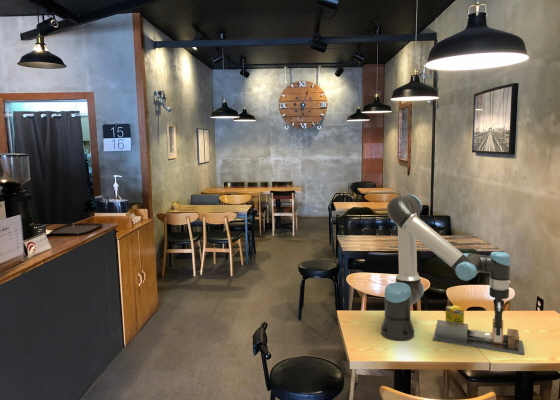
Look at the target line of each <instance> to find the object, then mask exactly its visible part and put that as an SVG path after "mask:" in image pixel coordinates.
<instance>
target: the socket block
mask: <svg viewBox="0 0 560 400" xmlns="http://www.w3.org/2000/svg"><path fill="white" fill-rule="evenodd" d="M506 333H507V334H506V335H508V348H512V349H519V340H520V335H519V329H516V328H515V329H513V328H507V330H506Z"/></svg>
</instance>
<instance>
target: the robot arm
mask: <svg viewBox="0 0 560 400" xmlns="http://www.w3.org/2000/svg"><path fill="white" fill-rule="evenodd" d="M422 211H423V203H422V201H421V200H420V199H419V198H418V197H417V196H416V195H414V194H401V195H400V196H395V197H393V198H392V199H390V200H389V201H388V202H387V206H386V212H387V215H388V217H389V218H390V220H391V221H392V222H393V223H394V224H395V225H396V226H397V243H398V244H397V245H398V246H397V248H398V249H397V250H398V253H397V254H398V274H397V275H396V276H395V282H391V283H389V284H387V285H386V286H385V288H384V293H383V294H384V319H383V321H382V324H381V327H380V334H381V335H382V336H383V337H384V338H386V339H389V340H392V341H398V342H400V341H401V342H402V341H405V342H406V341H410V340H412V339H413V338H414V337H415V329H414V325H413V323H412V320H411V307H412V306H413V305H415V304H416V303H417V302H419V301H420V300H421V298H422V297H423V295H424V292H425V291H424V290H425V289H424V285H423V283H422V282H421V276H420V275H419V274H418V261H417V260H418V259H417V257H418V255H417V247H418V246H417V240H418V241H419V242H420V243H422V244H423V245H424V246H425V247H426V248H428V249H429V250H430V251H431V252H433V253H434V254H435V255H436V256H437V257H438V258H440V259H441V260H442V261H443V262H444V263H446V264H447V265H448V266H449V267H451V268H452V269H453V270H454V271H455V272H454V273H455V275H456V276H457V278H458V279H460V280H462V281H466V282H467V281H470V280H472V279H473V278H476V276H477V274H479V273H485V274H489V291H488V292H489V293H488V295H489V297H492V298H494V299H493V310H494V318H493V319H495V326H493V325H492V328H493V327H494V328H495V330H494V342H500V343H501V334H502V320H503V313H504V307H505V301H504V300H506V299H508V298H509V297H510V284H511V283H512V281H510V278H511V277H510V274H511V272H510V271H511V255H510V254H509V253H508V252H504V251H491V253H490V255H484V254H483V255H482V254H477V253H471V252H469V253H468V252H467V253H466V252H465V253H463V252H461V251H460V250H459V249H458V248H457V247H455V246H454V245H453V244H452V243H450V242H449V241H448V240H447V239H445V237H443V236H441V235H440V234H439V233H438V232H437V231H435V230H434V229H433V228H432V227H431V226H430V225H428V224H427V223H425V221H423V220H422V219H420V214H421V213H422Z"/></svg>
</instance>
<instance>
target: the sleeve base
mask: <svg viewBox="0 0 560 400" xmlns="http://www.w3.org/2000/svg"><path fill="white" fill-rule="evenodd" d="M468 324H469V323H465V322H464V323H458V322H450V321H446V320H442V319H437V321H436V324H435V329H434V334H433V338H432V341H433V342H439V343H446V344H452V345H457V346H458V345H459V346H465V347H470V348H471V347H472V348H477V349H484V350H489V351H495V352H496V351H497V352H502V353H508V354H514V355H521V356H525V347H524V343H523V340H520V339H519V349H512V348H508V344H506V343H503V345H502V344H496V343H492V341H487V340H480V339H474V338H467V329H469V327H468V326H469V325H468Z"/></svg>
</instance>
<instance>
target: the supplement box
mask: <svg viewBox="0 0 560 400" xmlns="http://www.w3.org/2000/svg"><path fill="white" fill-rule="evenodd" d="M445 321H450V322H458V323H465V322H464V321H465V309H464V308H462V307H460V306H458V305H457V304H456V305H455V304H454V305H448V306H445Z"/></svg>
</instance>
